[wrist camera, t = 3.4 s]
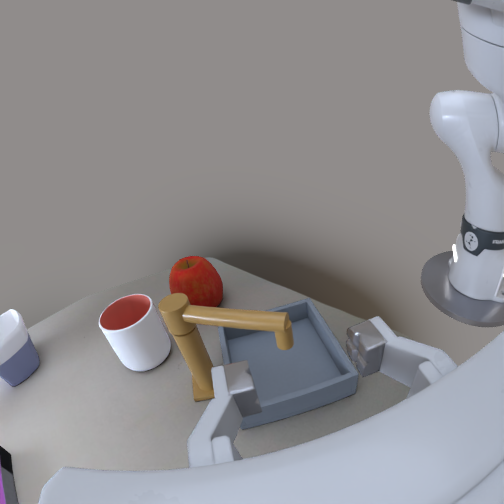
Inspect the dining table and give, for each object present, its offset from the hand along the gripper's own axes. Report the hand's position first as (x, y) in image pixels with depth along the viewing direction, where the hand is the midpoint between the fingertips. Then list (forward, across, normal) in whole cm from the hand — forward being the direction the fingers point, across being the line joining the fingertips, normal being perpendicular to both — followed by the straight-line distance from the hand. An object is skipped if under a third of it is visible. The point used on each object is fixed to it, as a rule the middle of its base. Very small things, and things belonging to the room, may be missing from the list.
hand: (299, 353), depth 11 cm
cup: (+29, +20, +24) cm, 43 cm away
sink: (+19, -2, +24) cm, 31 cm away
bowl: (+30, +55, +24) cm, 67 cm away
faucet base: (+19, +9, +24) cm, 32 cm away
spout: (+16, +4, +13) cm, 21 cm away
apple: (+41, +9, +24) cm, 48 cm away
